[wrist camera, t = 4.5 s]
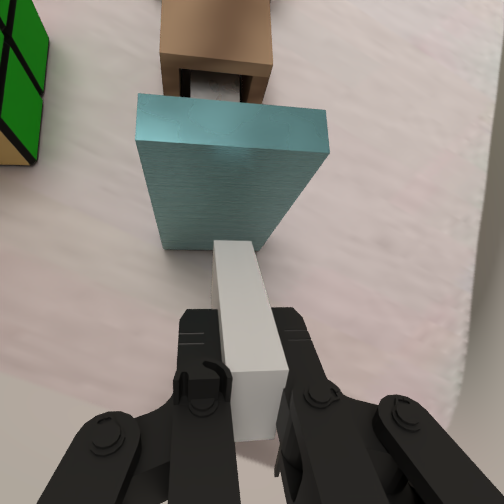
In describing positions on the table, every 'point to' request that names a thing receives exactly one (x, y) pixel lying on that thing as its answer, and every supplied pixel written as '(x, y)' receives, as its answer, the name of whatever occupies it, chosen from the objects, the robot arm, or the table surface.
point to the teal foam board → (224, 161)
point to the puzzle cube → (21, 80)
